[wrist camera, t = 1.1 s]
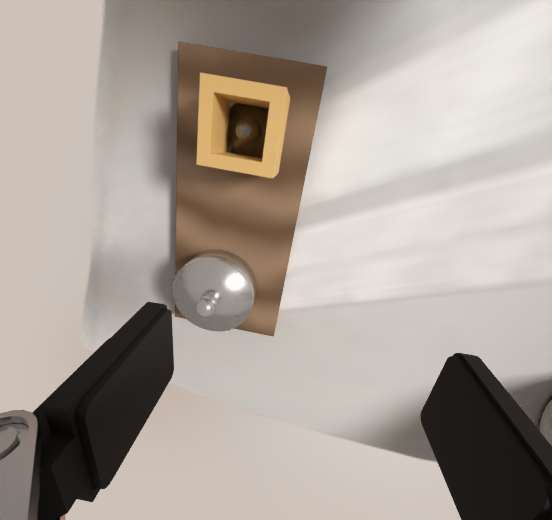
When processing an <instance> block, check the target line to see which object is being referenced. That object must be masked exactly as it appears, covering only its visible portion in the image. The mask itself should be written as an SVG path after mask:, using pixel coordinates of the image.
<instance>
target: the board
mask: <svg viewBox="0 0 552 520" xmlns="http://www.w3.org/2000/svg"><path fill="white" fill-rule="evenodd" d="M326 70H327V67H326V66H320V65H314V64H308V63H302V62H296V61H290V60H284V59H278V58H272V57H266V56H260V55H254V54H248V53H242V52H236V51H230V50H225V49H219V48H213V47H207V46H201V45H195V44H189V43H183V42H178V114H177V195H176V275H177V273H178V272H179V271H180V269H181V268H182V267H183V266H185V265H186V264H187V263H188V262H189V261H190V260H191V259H192V258H193V257H194V256H195V255H197V254H199V253H201V252H203V251H207V250H224V251H228V252H231V253H233V254H235V255H237V256H239V257H240V258H241V259H243V260H244V261H245V262H246V263H247V264H248V265H249V266H250V268H251V269H252V271H253V273H254V275H255V278H256V282H257V293H256V297H255V300H254V303H253V306H252V308H251V311H250V314H249V315H248V317H247V318H246V320H245V321H244V322H243V323H242V324H240V325H239V326H237V327H235V328H234V329H239V330H244V331H249V332H254V333H259V334H264V335H269V336H274V331H275V326H276V321H277V316H278V311H279V306H280V301H281V296H282V291H283V286H284V281H285V276H286V271H287V266H288V261H289V256H290V251H291V246H292V241H293V236H294V231H295V226H296V221H297V216H298V211H299V206H300V201H301V195H302V190H303V185H304V180H305V175H306V170H307V165H308V160H309V155H310V150H311V145H312V140H313V135H314V130H315V125H316V120H317V115H318V110H319V105H320V100H321V95H322V90H323V85H324V80H325V75H326ZM200 73H206V74H212V75H218V76H224V77H229V78H235V79H241V80H247V81H253V82H259V83H265V84H270V85H276V86H282V87H287V90H288V93H289V96H290V104H289V110H288V116H287V123H286V129H285V135H284V142H283V148H282V154H281V160H280V167H279V173H278V174H277V175H276V176H275V177H274V178H267V177H262V176H256V175H251V174H245V173H240V172H235V171H229V170H224V169H218V168H213V167H207V166H202V165H196V162H197V138H198V113H199V88H200ZM234 104H235V103H234V102H230V108H231V107H232V106H233V105H234ZM226 152H229V153H231V152H230V150H229V149H228V147H227V148H226ZM175 317H180V318H185V317H184V316H183V315H182V314H181V312H180V311H179V310H178V308H177V306H176V304H175ZM185 319H186V318H185Z"/></svg>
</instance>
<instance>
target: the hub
mask: <svg viewBox="0 0 552 520" xmlns="http://www.w3.org/2000/svg"><path fill="white" fill-rule="evenodd" d="M256 293H257V282H256V278H255V275H254V273H253V271H252V269H251V268H250V266H249V265H248V264H247V263H246V262H245V261H244V260H243V259H241V258H240V257H239V256H237V255H235V254H233V253H231V252H228V251H224V250H207V251H203V252H201V253H199V254H197V255H195V256H194V257H193V258H192V259H191V260H190V261H189V262H188V263H187V264H186V265H185V266H183V267H182V268H181V269H180V271H179V272H178V273H177V275H176V276H175V278H174V281H173V285H172V294H173V299H174V302H175V304H176V306H177V308H178V310H179V311H180V312H181V314H182V315H183V316H184V317H185V318H186V319H187V320H189V321H190V322H191V323H193V324H194V325H196V326H198V327H201V328H203V329H207V330H211V331H226V330H230V329H233V328H235V327H237V326H239V325H240V324H242V323H243V322H244V321H245V320H246V318H247V317H248V315H249V314H250V311H251V308H252V306H253V303H254V300H255V297H256Z"/></svg>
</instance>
